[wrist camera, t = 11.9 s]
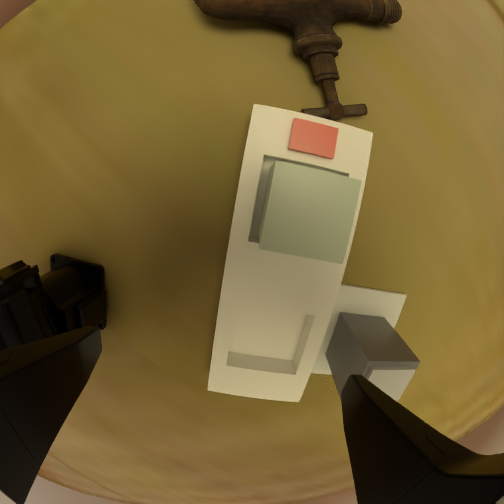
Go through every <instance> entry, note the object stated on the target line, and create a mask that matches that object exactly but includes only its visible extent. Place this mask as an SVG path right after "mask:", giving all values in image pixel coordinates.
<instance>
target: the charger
mask: <svg viewBox="0 0 504 504" xmlns="http://www.w3.org/2000/svg"><path fill="white" fill-rule="evenodd" d="M325 356H326V358H327V361H328V364H329V367H330V370H331V373H332V375H333V378H334V381H335V384H336V387H337V390H338V393H339V396H340V399H341V392H342V389H343V387H344V385H345V383H346V381H347V379H348V377H349V376H350V375H351V374H360V375H362V376H364V377H365V378H366V379H367V380H369V381H370V382H371V383H373V384H374V385H375V386H377V387H378V388H379V389H381V390H382V391H383V392H385V393H386V394H387V395H389V396H390V397H391V398H393V399H394V400H395V401H398V400H399V398H400V397H401V395H402V393H403V392H404V390H405V388H406V387H407V385H408V383H409V381H410V380H411V378H412V376H413V374H414V372H415V371H416V369H417V367H418V365H419V363H420V361H419V359H418V358H417V357H416V356H415V354H414V353H413V352H412V350H411V349H410V348H409V347H408V345H407V344H406V343H405V342H404V341H403V339H402V338H401V337H400V336H399V334H398V333H397V332H396V331H395V330H394V328H393V327H392V326H391V325H390V324H389V322H388V321H387V320H386V319H385V318H384V317H380V316H371V315H362V314H354V313H346V312H340V314H339V317H338V320H337V323H336V326H335V329H334V332H333V334H332V337H331V340H330V343H329V345H328V348H327V351H326V353H325Z"/></svg>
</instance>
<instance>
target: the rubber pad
mask: <svg viewBox="0 0 504 504" xmlns="http://www.w3.org/2000/svg"><path fill="white" fill-rule="evenodd" d="M406 296H407V295H406V294H404V293H398V292H391V291H385V290H378V289H372V288H365V287H359V286H353V285H347V284H341V285H340V289H339V292H338V295H337V299H336V302H335V305H334V308H333V312H332V315H331V318H330V321H329V324H328V327H327V330H326V333H325V336H324V339H323V341H322V344H321V347H320V350H319V353H318V355H317V358H316V361H315V363H314V366H313V369H312V371H311V373H317V374H332V373H331V370H330V367H329V364H328V361H327V358H326V356H325V353H326V351H327V348H328V345H329V343H330V340H331V337H332V334H333V332H334V329H335V326H336V323H337V320H338V317H339V314H340V312H346V313H354V314H362V315H371V316H380V317H384V318H385V319H386V320H387V321H388V322H389V324H390V325H391V326H392V327H393V328H395V325H396V323H397V320H398V318H399V315H400V312H401V310H402V307H403V304H404V302H405V299H406Z"/></svg>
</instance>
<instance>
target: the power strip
mask: <svg viewBox="0 0 504 504" xmlns="http://www.w3.org/2000/svg"><path fill="white" fill-rule="evenodd" d="M372 137H373V133H371V132H368V131H365V130H362V129H359V128H356V127H353V126H349V125H346V124H343V123H339V122H335V121H332V120H328V119H324V118H320V117H316V116H312V115H308V114H304V113H299V112H295V111H290V110H285V109H280V108H275V107H270V106H264V105H258V104H254V106H253V111H252V116H251V121H250V126H249V131H248V136H247V142H246V147H245V152H244V158H243V163H242V169H241V174H240V180H239V185H238V191H237V197H236V202H235V208H234V214H233V220H232V226H231V232H230V238H229V244H228V250H227V256H226V262H225V269H224V275H223V282H222V288H221V295H220V302H219V308H218V315H217V322H216V329H215V336H214V343H213V351H212V358H211V366H210V373H209V381H208V389H207V390H209V391H214V392H220V393H226V394H232V395H238V396H245V397H252V398H260V399H269V400H279V401H290V402H299V401H300V399H301V396H302V394H303V391H304V389H305V386H306V384H307V381H308V379H309V376H310V374H311V371H312V369H313V366H314V363H315V361H316V358H317V355H318V353H319V350H320V347H321V344H322V341H323V339H324V336H325V333H326V330H327V327H328V324H329V321H330V318H331V315H332V312H333V308H334V305H335V302H336V299H337V295H338V292H339V289H340V285H341V282H342V278H343V275H344V271H345V268H346V264H347V260H348V256H349V252H350V249H351V245H352V240H353V236H354V232H355V228H356V224H357V219H358V215H359V210H360V205H361V201H362V196H363V191H364V185H365V180H366V175H367V169H368V163H369V157H370V150H371V144H372ZM276 160H277V161H282V162H287V163H292V164H296V165H301V166H306V167H310V168H314V169H319V170H323V171H327V172H331V173H335V174H339V175H343V176H347V177H350V178H354V179H358V180H361V187H360V192H359V197H358V202H357V207H356V211H355V216H354V220H353V225H352V229H351V233H350V237H349V242H348V246H347V250H346V254H345V257H344V261H343V264H338V263H333V262H328V261H322V260H317V259H311V258H306V257H300V256H295V255H289V254H284V253H278V252H273V251H267V250H261V249H259V225H260V220H261V215H262V209H263V204H264V198H265V193H266V188H267V182H268V177H269V172H270V167H271V166H272V165H273V163H274V162H275V161H276Z"/></svg>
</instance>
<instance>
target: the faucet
mask: <svg viewBox="0 0 504 504" xmlns="http://www.w3.org/2000/svg"><path fill="white" fill-rule="evenodd" d="M194 1H195V3H196V4H197V5H198V7H199V8H200V9H201V10H202V12H203V13H205V14H207V15H209V16H212V17H214V18H220V19H225V20H230V21H243V20H257V21H264V22H267V23H271V24H275V25H280V26H284V27H286V28H287V29H289V30H291V31H292V32H294V35H295V41H294V43H293V44H292V48H293V51H294V52H295V53H297V54H299V55H302V56H303V59H304V60H305V61H310V64H311V67H312V71H313V75H314V77H315V82H316V83H322V84H323V88H324V92H325V96H326V100H327V106H326V107H322V108H310V109H302V111H301V113H304V114H308V115H312V116H316V117H320V118H330V119H332V120H340V119H341V118H342V117H343V116H354V115H367V107H366V105H365V104H355V105H345V106H342V105H341V104H340V103H339V100H338V96H337V92H336V88H335V84H334V81H337V80H339V79H340V78H339V75H338V71H337V67H336V63H335V60H334V57H336V56H338V51H337V50H338V49H340V48H341V46H342V40H341V38H340V37H338V36H337V35H336V33H335V32H334V31H333V29H332V25H333V23H334V21H335V20H338V19H340V18H343V17H359V18H360V19H362V20H365V21H372V22H373V23H375V24H381V25H382V24H385V23H391V24H393V23H396V22H398V21H399V20H400V18H401V16H402V10H401V6H400V4H399V2H398V1H397V0H194Z"/></svg>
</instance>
